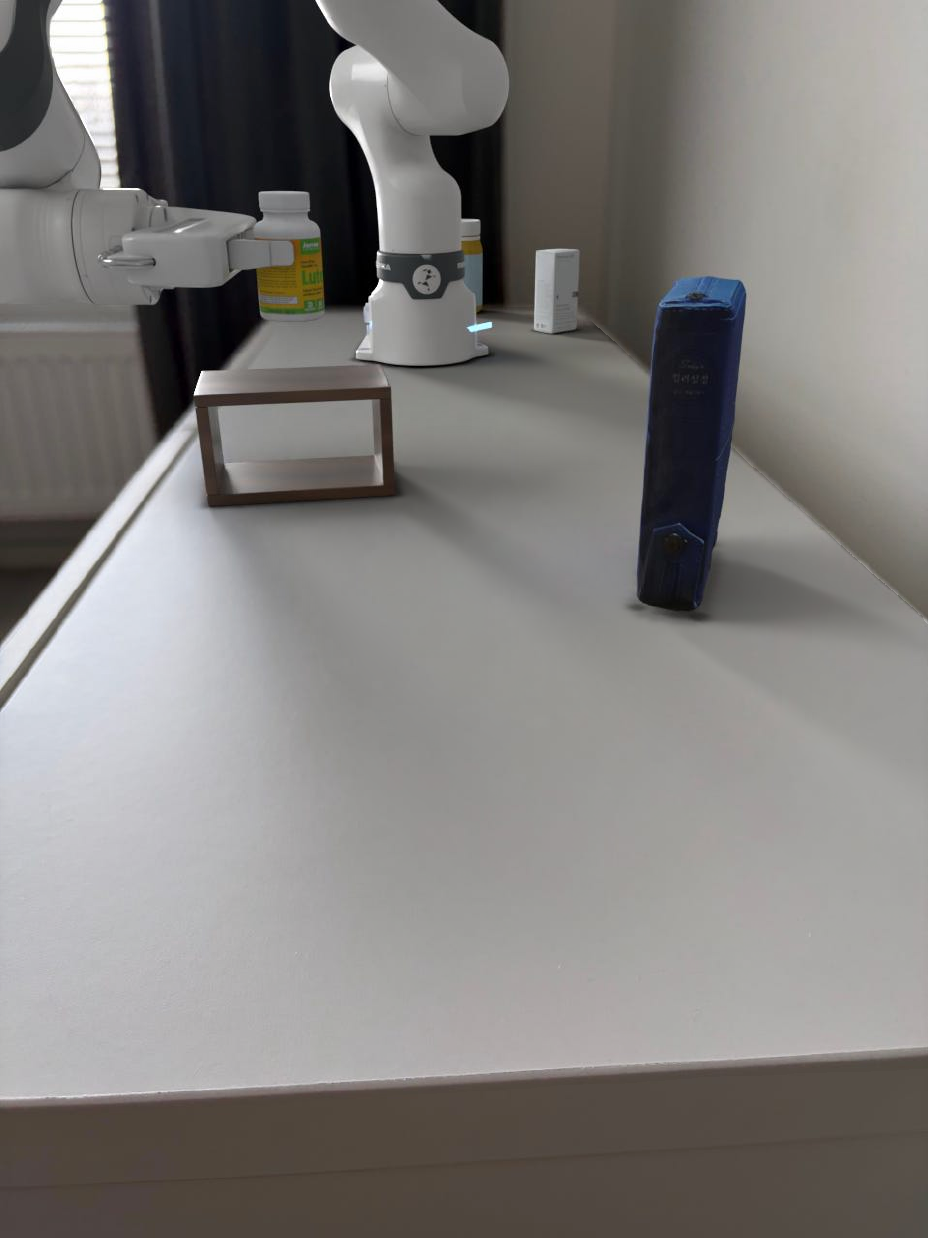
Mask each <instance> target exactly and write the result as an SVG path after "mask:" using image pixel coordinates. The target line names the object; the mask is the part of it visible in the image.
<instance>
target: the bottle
mask: <svg viewBox="0 0 928 1238" xmlns="http://www.w3.org/2000/svg"><path fill="white" fill-rule="evenodd" d="M461 249H462V250H463V251H464V258H465V277H464V278H463V281H464V283H465V285H466V286H467V287H468V288H469V289H470V290H471V291H472V293H474V294H475V299H476V314H477V313H480V312H481V310H482V308H483V276H484V275H483V271H484V270H483V269H484V268H483V267H484V266H483V263H484V261H483V260H484V257H483V255H484V253H483V245H482V243H481V220H480V219H475V218H461Z"/></svg>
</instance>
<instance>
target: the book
mask: <svg viewBox="0 0 928 1238" xmlns="http://www.w3.org/2000/svg"><path fill="white" fill-rule="evenodd" d="M746 303H747V291H746V288H745V285H744V283H743V282H742V281H741V280H740V279H731V278H724V277H723V278H722V277H717V276H713V275H712V276H711V275H706V276H698V277H697V276H696V277H680V278H677V279H676V281H675V282H674V283H673V285H672V287H671V289H670V291H669V292H667V293H666V295H664V296H663V298H662V299H661V300H660V301H659V304H658V305H657V308H656V315H655V317H654V319H655V322H654V326H653V328H654V329H653V339H652V348H651V361H650V370H649V371H650V372H649V387H648V388H649V389H648V399H647V403H648V404H647V417H646V434H645V435H646V436H645V446H644V461H643V462H644V463H643V475H642V476H643V478H642V493H641V494H642V495H641V505H640V517H639V518H640V519H639V537H638V538H639V539H638V549H637V550H638V551H637V552H638V553H637V563H636V564H637V565H636V597H637V599H638V601H639V602H641V603H642V604H644V605H646V606H648V607H649V606H650V607H655V608H659V609H665V610H668V611H672V612H688V613H691V612H694V611H695V610H697V609H698V608H699V607H700V606H701V605H702V601H703V598H704V597H703V595H704V590H705V587H706V583H707V579H708V576H709V572H710V570H711V565H712V558H713V557H712V556H713V552H714V549H715V547H716V545H717V541H718V534H719V524H720V520H721V517H722V512H723V511H722V510H723V506H724V501H725V493H726V491H725V490H726V481H727V475H728V474H727V473H728V467H729V461H730V456H731V450H732V441H733V431H734V425H735V420H736V400H737V393H738V383H739V374H740V373H739V372H740V364H741V355H742V344H743V333H744V325H745V324H744V323H745V318H746V305H747V304H746Z"/></svg>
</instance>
